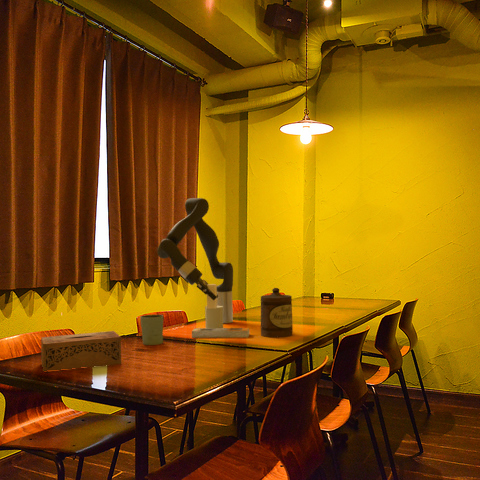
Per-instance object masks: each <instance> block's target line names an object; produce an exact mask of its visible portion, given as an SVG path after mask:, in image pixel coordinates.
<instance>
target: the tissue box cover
mask: <svg viewBox="0 0 480 480" xmlns="http://www.w3.org/2000/svg"><path fill="white" fill-rule="evenodd" d="M40 344H41V345H40V347H41V349H40V353H41V362H42V364H41V368H42V367H43V369H42V372H43V371H47V370H61V369H72V368H81V367H93V368H95V367H94V366H101V367H107V366H106V365H110V366H116V365H117V364H118V365H122V337H121V335H119V334H118V333H117V332H115V331H114V330H109V331H97V332H89V333H77V334H64V335H53V336H51V335H50V336H42V337H41V338H40ZM118 365H117V366H118Z"/></svg>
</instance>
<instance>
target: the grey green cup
mask: <svg viewBox="0 0 480 480" xmlns="http://www.w3.org/2000/svg"><path fill="white" fill-rule="evenodd" d="M139 318H140V319H139V320H140V327H141V333H142V334H141V338H142V344H143V345H145V346H156V345H158V346H159V345H161V344H163V343H164V334H163V332H164V314H146V315H145V314H144V315H141V316H139Z"/></svg>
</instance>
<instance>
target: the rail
mask: <svg viewBox="0 0 480 480" xmlns="http://www.w3.org/2000/svg"><path fill="white" fill-rule="evenodd" d="M249 336H250V327H223V328H206V327H204V328H202V327H200V328H199V327H198V328H193V330H191V338H195V339H196V338H202V339H203V338H205V339H206V338H207V339H208V338H213V339H216V338H222V339H223V338H227V339H228V338H231V339H232V338H233V339H234V338H238V339H239V338H243V339H244V338H247V339H248V338H249Z"/></svg>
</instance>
